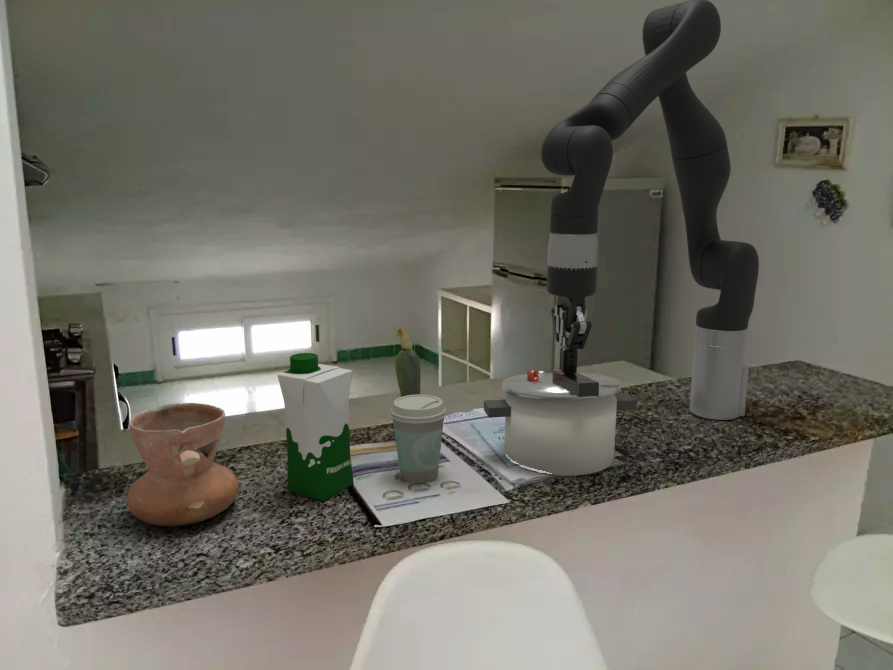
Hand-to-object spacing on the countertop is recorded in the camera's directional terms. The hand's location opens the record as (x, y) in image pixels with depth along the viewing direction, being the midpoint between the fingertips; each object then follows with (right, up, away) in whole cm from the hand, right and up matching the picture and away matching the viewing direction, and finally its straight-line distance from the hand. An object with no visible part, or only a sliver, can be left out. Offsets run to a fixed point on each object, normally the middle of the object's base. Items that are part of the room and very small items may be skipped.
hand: (568, 372), depth 113 cm
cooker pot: (0, -14, +7) cm, 16 cm away
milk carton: (-38, -17, -5) cm, 42 cm away
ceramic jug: (-56, -19, -12) cm, 60 cm away
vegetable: (-26, -13, +14) cm, 32 cm away
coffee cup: (-23, -16, -1) cm, 28 cm away
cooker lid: (0, -3, +4) cm, 5 cm away
